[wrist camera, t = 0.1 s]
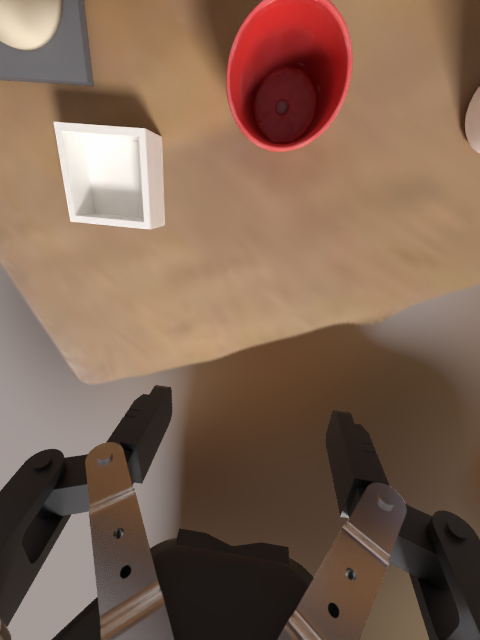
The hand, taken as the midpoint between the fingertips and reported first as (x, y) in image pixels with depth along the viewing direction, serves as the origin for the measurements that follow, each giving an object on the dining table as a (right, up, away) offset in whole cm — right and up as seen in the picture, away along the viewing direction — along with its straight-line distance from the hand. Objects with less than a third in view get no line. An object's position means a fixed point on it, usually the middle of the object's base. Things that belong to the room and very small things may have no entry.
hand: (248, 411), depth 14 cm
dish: (-16, +23, +24) cm, 37 cm away
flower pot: (+5, +29, +19) cm, 35 cm away
